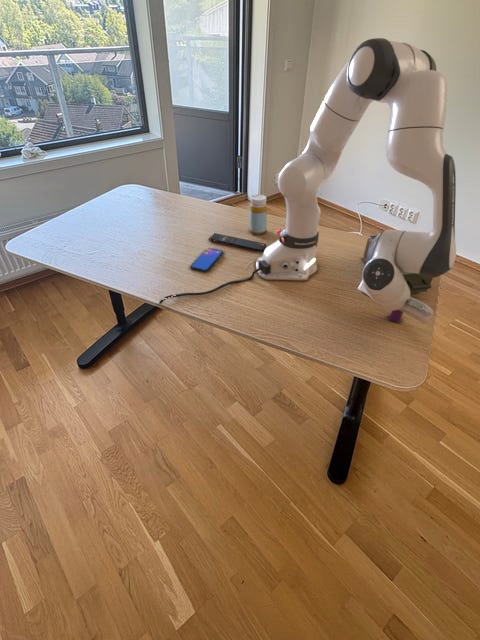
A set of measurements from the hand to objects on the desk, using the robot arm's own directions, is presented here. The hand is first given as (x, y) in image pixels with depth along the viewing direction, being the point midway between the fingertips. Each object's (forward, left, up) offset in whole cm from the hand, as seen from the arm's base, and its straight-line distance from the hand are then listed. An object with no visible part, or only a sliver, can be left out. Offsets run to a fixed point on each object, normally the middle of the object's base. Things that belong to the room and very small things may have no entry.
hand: (400, 306), depth 102 cm
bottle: (-33, +63, -5) cm, 71 cm away
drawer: (+9, +15, -3) cm, 18 cm away
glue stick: (-1, 0, -4) cm, 4 cm away
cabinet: (+9, +27, -4) cm, 29 cm away
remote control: (-43, +53, -5) cm, 68 cm away
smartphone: (-56, +42, -4) cm, 70 cm away
